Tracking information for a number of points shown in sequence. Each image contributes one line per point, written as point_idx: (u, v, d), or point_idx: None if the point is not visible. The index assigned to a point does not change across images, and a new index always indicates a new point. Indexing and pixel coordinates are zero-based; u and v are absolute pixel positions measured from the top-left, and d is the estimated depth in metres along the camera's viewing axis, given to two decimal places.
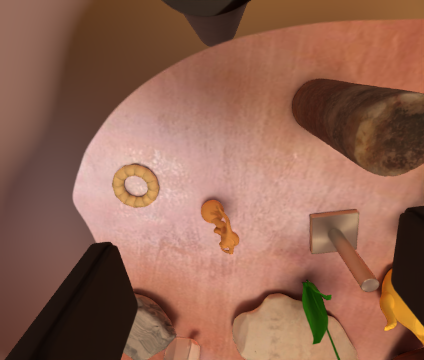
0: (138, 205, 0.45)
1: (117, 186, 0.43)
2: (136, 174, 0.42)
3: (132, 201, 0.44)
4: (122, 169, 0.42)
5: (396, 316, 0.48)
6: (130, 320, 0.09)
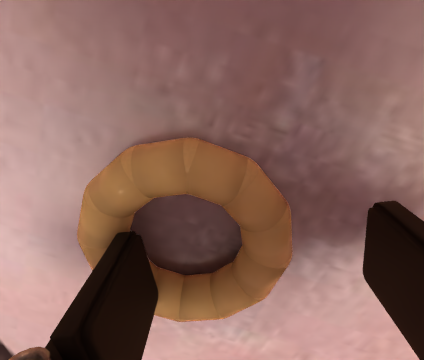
0: (196, 318, 0.10)
1: (101, 246, 0.09)
2: (198, 190, 0.08)
3: (171, 303, 0.10)
4: (122, 164, 0.08)
5: None
6: (153, 306, 0.09)
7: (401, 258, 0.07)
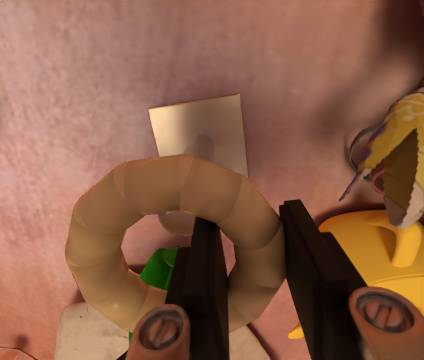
0: None
1: (90, 264, 0.09)
2: (192, 208, 0.08)
3: None
4: (115, 180, 0.08)
5: None
6: (226, 282, 0.10)
7: (291, 249, 0.08)
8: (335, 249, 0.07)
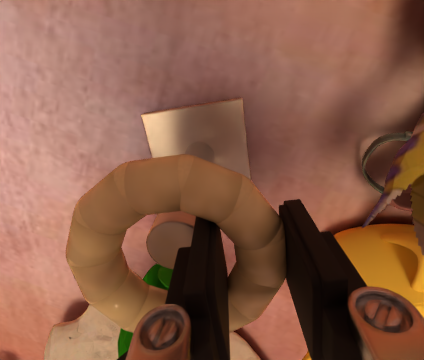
0: None
1: (90, 264, 0.09)
2: (193, 208, 0.08)
3: None
4: (115, 180, 0.08)
5: None
6: (227, 282, 0.10)
7: (291, 249, 0.08)
8: (335, 249, 0.07)
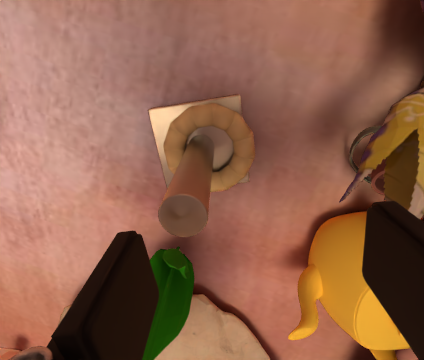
0: (213, 187, 0.23)
1: (175, 148, 0.22)
2: (217, 122, 0.21)
3: None
4: (188, 111, 0.21)
5: (329, 311, 0.25)
6: (153, 306, 0.09)
7: (400, 258, 0.07)
8: None
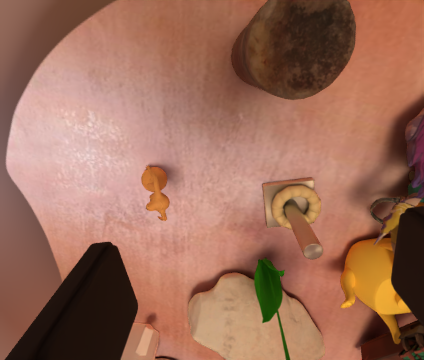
0: None
1: (279, 207, 0.41)
2: (303, 195, 0.40)
3: None
4: (288, 190, 0.40)
5: (358, 295, 0.44)
6: (130, 320, 0.09)
7: None
8: None
